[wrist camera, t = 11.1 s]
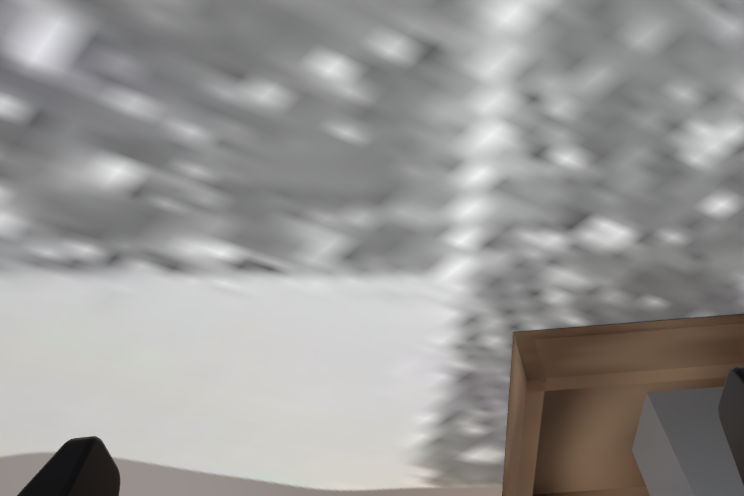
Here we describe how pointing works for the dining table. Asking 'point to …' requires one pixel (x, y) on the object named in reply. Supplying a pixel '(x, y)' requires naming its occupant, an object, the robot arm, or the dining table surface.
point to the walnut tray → (602, 398)
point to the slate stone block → (685, 445)
